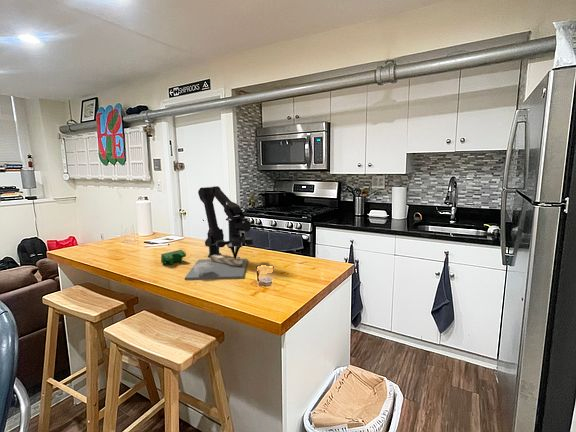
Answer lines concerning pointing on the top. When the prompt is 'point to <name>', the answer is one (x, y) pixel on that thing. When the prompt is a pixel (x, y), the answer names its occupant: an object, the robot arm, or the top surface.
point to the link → (227, 260)
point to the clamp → (172, 257)
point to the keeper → (200, 266)
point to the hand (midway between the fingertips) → (235, 258)
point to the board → (219, 271)
